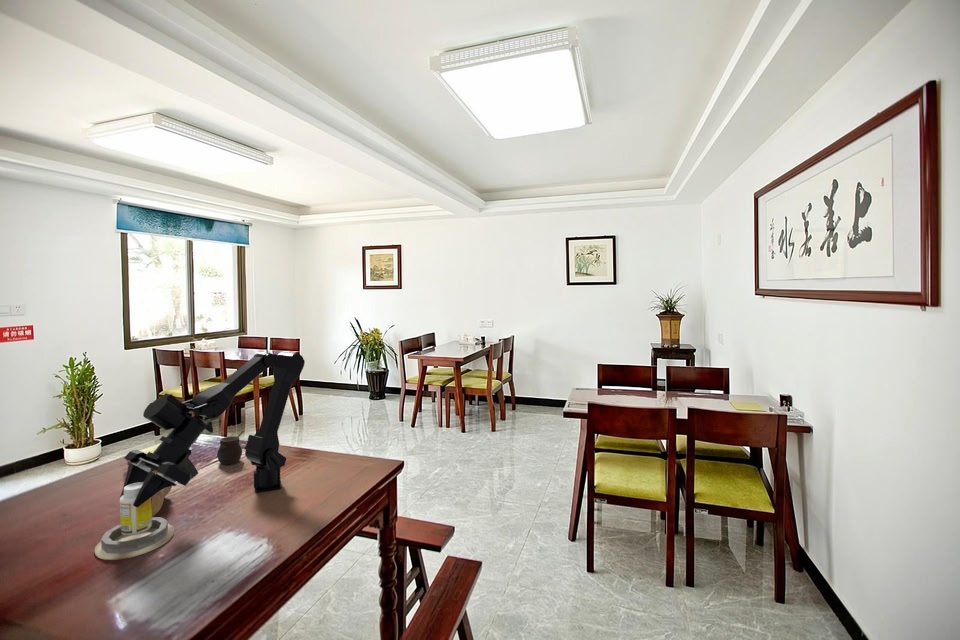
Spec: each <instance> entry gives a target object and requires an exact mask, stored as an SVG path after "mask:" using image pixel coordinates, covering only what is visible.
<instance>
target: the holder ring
mask: <svg viewBox="0 0 960 640" xmlns="http://www.w3.org/2000/svg"><path fill="white" fill-rule="evenodd" d="M174 533H175V529H174V526H173V525H171V524H169V522H168V520H166V519H165V518H163V517H157V516H153V517H152V526H151V527H150V528H149V529H148V530H147V531H145V532H143V533H140V534H137V535H131V536H127V535H123V534H122V533H121V523H120V524H118V525H115V526H114V527H112V528H110V529H109V530H107V531H106V532H105V533H104V534H103V536H102V537H101V538H100V541H99V542H98V543H97V544H96V545H95V547H94V555H95V556H96V558H98V559H101V560H105V561H119V560H124V559H130V558H131V559H132V558H135V557H138V556H141V555H145V554H147V553H150V552H152V551H154V550H157V549H158V548H160V547H162V546H163V545H165V544H167V542H169V541H170V540H171V539H172V538H173V536H174Z"/></svg>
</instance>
